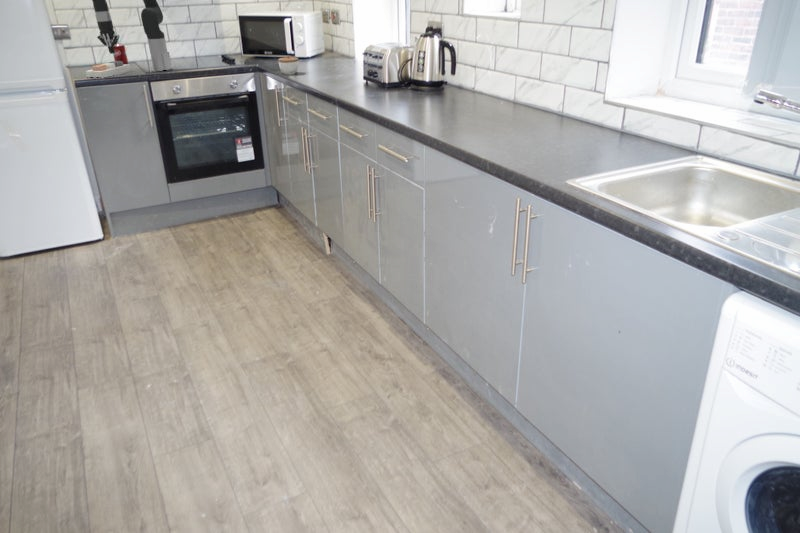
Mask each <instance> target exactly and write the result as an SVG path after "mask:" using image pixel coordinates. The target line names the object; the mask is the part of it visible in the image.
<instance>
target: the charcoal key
mask: <svg viewBox="0 0 800 533" xmlns="http://www.w3.org/2000/svg"><path fill="white" fill-rule="evenodd" d="M108 63H114V64H115V67H119V66H123V61H115V60H113V61H110V62H108Z"/></svg>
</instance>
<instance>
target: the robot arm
mask: <svg viewBox="0 0 800 533" xmlns="http://www.w3.org/2000/svg"><path fill="white" fill-rule="evenodd" d="M91 1H92V4H93V9H94V13H95V18H96V24H97V26H98V30H99V35H98V36H96V37H97V39H98V41H100V43H102V44H103V46H106V47H107V50H108V52H109V54H111V55H113V53H115V49H114V45H118V42H119V39H120V35H119V34H118V35H117V34H116V32H115V30H114V24H113V20H112V16H111V13H110V11H109V10H110V9H109V6H108V2H107V0H91ZM142 2H143V4H144V7H145V8H144V7H143V9H142V10H141V13H140V17H141V18H140V19H141V23H142V28H143V30H144V34H145V35H146V38H147V43H148V44H147V45H148V47H149V53H150V58H151V63H152V67H153V69H152V70H153V71H154V70H155V71H154V72H164V71H163V70H167V71H171V70H173V66H172V61H171V56H170V52H169V51H168V47H167V43H166V38H165V36H166V35H165V32H163V31H162V30H161V28H160V24H162V23H163V20H164V15H163V11H162V10H161V7H160V5H159V3H158V1H157V0H142Z"/></svg>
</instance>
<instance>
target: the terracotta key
mask: <svg viewBox="0 0 800 533" xmlns="http://www.w3.org/2000/svg"><path fill="white" fill-rule="evenodd" d="M91 68H92V69H91V70H93V71H103V70H107V67H106V65H101V64H96V65H92V66H91Z"/></svg>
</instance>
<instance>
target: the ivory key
mask: <svg viewBox="0 0 800 533" xmlns="http://www.w3.org/2000/svg"><path fill="white" fill-rule="evenodd" d="M100 65H106V67H107V69H111V68H115V64H114V63H109V62H105V63H100Z"/></svg>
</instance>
